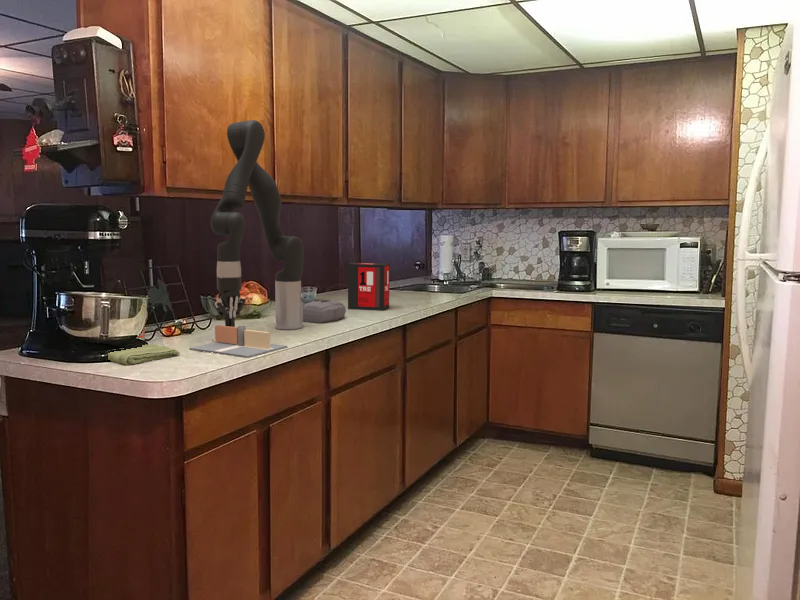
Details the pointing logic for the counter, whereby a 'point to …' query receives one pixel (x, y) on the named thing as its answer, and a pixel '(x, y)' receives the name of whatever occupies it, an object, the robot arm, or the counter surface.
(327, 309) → the soft grey pack
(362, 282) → the cleaning product box
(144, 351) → the washcloth
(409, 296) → the counter surface
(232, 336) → the salmon long narrow block
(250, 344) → the slate board
